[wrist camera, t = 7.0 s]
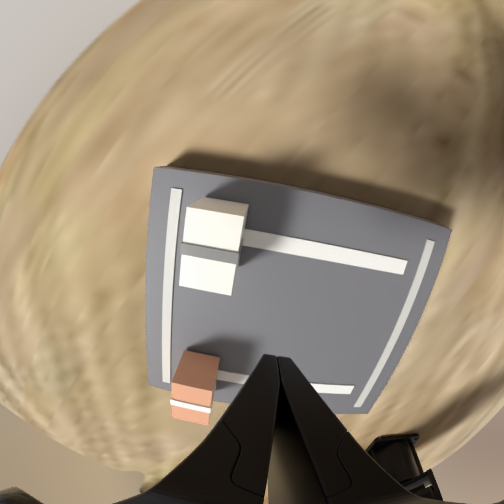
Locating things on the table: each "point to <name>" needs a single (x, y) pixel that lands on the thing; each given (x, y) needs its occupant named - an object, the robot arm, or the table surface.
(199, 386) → the block
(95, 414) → the table surface
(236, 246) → the fader
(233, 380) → the console
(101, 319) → the table surface
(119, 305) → the table surface
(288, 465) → the robot arm
